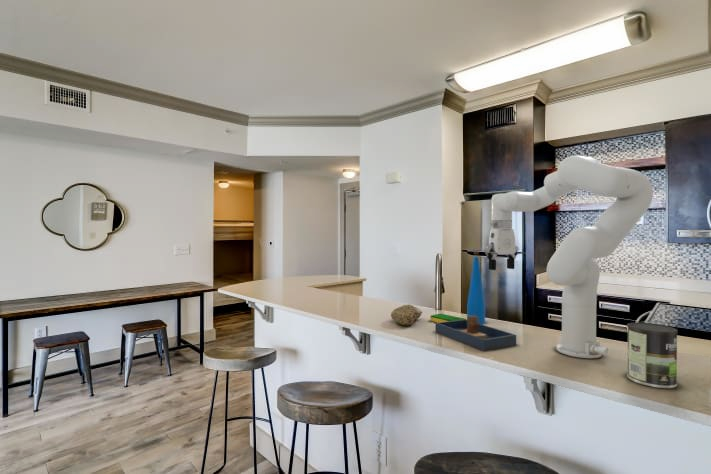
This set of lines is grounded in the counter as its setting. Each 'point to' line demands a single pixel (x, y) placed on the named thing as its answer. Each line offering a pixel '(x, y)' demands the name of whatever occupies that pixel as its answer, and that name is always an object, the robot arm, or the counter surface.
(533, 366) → the counter surface
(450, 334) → the baking dish
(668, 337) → the coffee can
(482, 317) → the bottle
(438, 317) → the dish sponge
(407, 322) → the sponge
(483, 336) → the two-tone wood block
